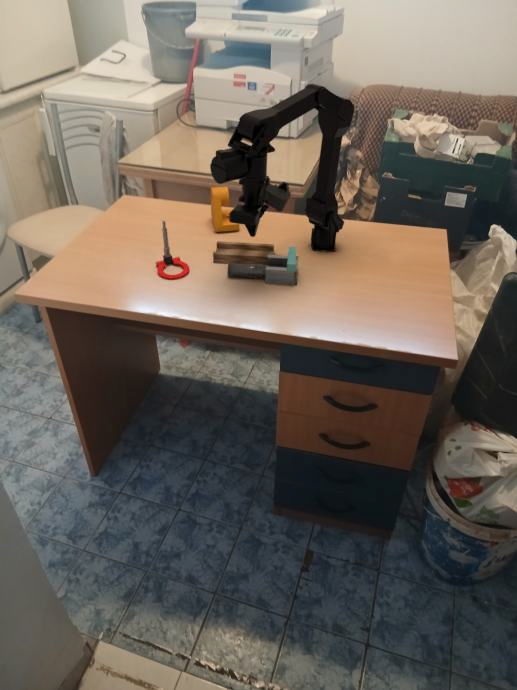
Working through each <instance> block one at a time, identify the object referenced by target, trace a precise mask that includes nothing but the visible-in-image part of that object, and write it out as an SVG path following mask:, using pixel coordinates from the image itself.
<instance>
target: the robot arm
mask: <svg viewBox="0 0 517 690" xmlns="http://www.w3.org/2000/svg"><path fill="white" fill-rule="evenodd" d="M313 110H316V111H317V123H318V125H319V128H320V132H321V134H322V136H321V143H320V152H319V158H318V160H319V161H318V168H317V177H316V183H315V185H316V186H315V191H314V192H313V194H312V195H311V196H309V197H307V198H306V200H305V202H306V203H305V204H306V205H305V209H304V212H305V216H306V217H307V218H308V219H307V220H308V222H309V223H310V224H312V225H313V227H312V228H311V233H310V245H311V250H312V251H319V252H322V251H323V252H336V240H337V233H340V230H343V227H344V225H345V220H344V219H342V218H341V216H340V215H339V202H338V200H337V198H336V195H335V190H336V183H337V177H338V169H339V163H340V155H341V150H342V142H343V136H344V135H345V134H346V133H347V132H348V130H349V129H350V127H351V125H352V120H353V117H354V113H355V104H354V103H353V101H351V99H349V98H345V97H342V96H339V95H336V94H335V93H333V92H331V91H330V90H329V89H328V88H326V87H325V86H323V85H320V84H316V83H308V84H307V85H306V86H305V87H304V88H302V89H301V90H298V92H296V93H294V94H292V95H290V96H288V97H287V98H285V99H284V100H281V101H280V102H278V103H276V104H275V105H274V104H273V105H272V106H271V107H267V108H261V109H260V108H259V109H254V110H251V111H248V112H245V113H244V114H242V115H241V116H240V117H239V119H238V120H239V121H238V124H237V126H236V127H235V130H234V131H233V132H232V135H231V138H230V139H229V141H228V143H227V146H228V147H229V148H225V149H217V150H215V156H214V157H213V158H212V160H211V162H210V164H209V165H210V166H209V167H210V173H211V177H212V178H213V179H214V181H215V182H216V183H217V184H220V185H223V184H226V183H229V182H230V183H231V182H233V181H237V180H238V185H241V195H240V196H239V197H238V202H239V203H244V204H236V205H235V206H234V207H233V208H231V209H232V211H231V212H230V213H229V221H230V222H231V223H237V224H239V225H244V226H245V228H246V230H247V232H248V234H249V235H250V237H252V238H254V237H255V236H257V230H258V228H259V224H260V221H261V218H262V217H263V216H264V214H265V213H266V211H267V210H268V209H269V208H270V207H271V208H272V209H274V210H275V211H277V212H280V213H281V212H283V211H284V209H285V208H286V206H287V204H288V202H289V200H290V197H291V196H292V195H291V191H290V189H289V188H290V185H289V183H287V182H285V181H282V182H281V183H279V184H278V185H277V184H272V183H271V178H270V176H269V175H267V174H268V173H267V172H268V171H267V170H268V169H267V168H268V154H270V153H275V152H276V147H274V146H273V145H272V144H271V142H272V141H273V140H275V138H277V136H278V135H279V132H280V130H281V129H283V127H285V126H287V125H289V124H291V123H292V122H294V121H295V120H297V119H298V118H300V117H302V116H304V115H306V114H307V113H309V112H311V111H313ZM243 141H246V142H248V143H246V142H243ZM249 143H250V144H251V145H250V144H249Z"/></svg>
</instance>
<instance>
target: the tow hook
mask: <svg viewBox="0 0 517 690" xmlns="http://www.w3.org/2000/svg"><path fill="white" fill-rule="evenodd" d="M161 229H162V237H163V254H164V255H162V258H163V259H162V260H158V261H156V262H155V266H156V267H157V268H156V271H157V275H158V276H159V277H160V278H162V279H164V280H167V281H175V280H181V279H183V278H186V277H187V276H188V275H189V274H190V265H189V264H187V263H186V262H185V261H182V260H181V257H180V256H176V257H173V255H172V254H171V248H170V245H169V237H168V236H169V235H168V228H167V226H166V221H165V220H162V228H161ZM170 265H174V266H178V267H180V268H182V269H183V270H182V271H181V272H180V273H177V274H176V273H175V274H169V273H166V272H165V271H164V270H165V269H166V268H167V266H170Z"/></svg>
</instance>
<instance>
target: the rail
mask: <svg viewBox="0 0 517 690" xmlns="http://www.w3.org/2000/svg"><path fill="white" fill-rule="evenodd" d="M274 253H275V244H274V243H259V242H258V243H257V242H256V243H255V242H239V241H238V242H237V241H220V240H217V241H216V249H215V251H213V252H212V257H213V259H212V261H213V264H214V263H215V264H227V265H228V263H241V264H260V265H267V264H268V255H275V254H274Z"/></svg>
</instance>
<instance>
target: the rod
mask: <svg viewBox="0 0 517 690" xmlns="http://www.w3.org/2000/svg"><path fill="white" fill-rule="evenodd" d="M266 267H282V266H280V265H260V264H241V263H228V264H227V271H226V272H227V278H230V277H231V278H245V279H262V280H263V279H265V280H266Z"/></svg>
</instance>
